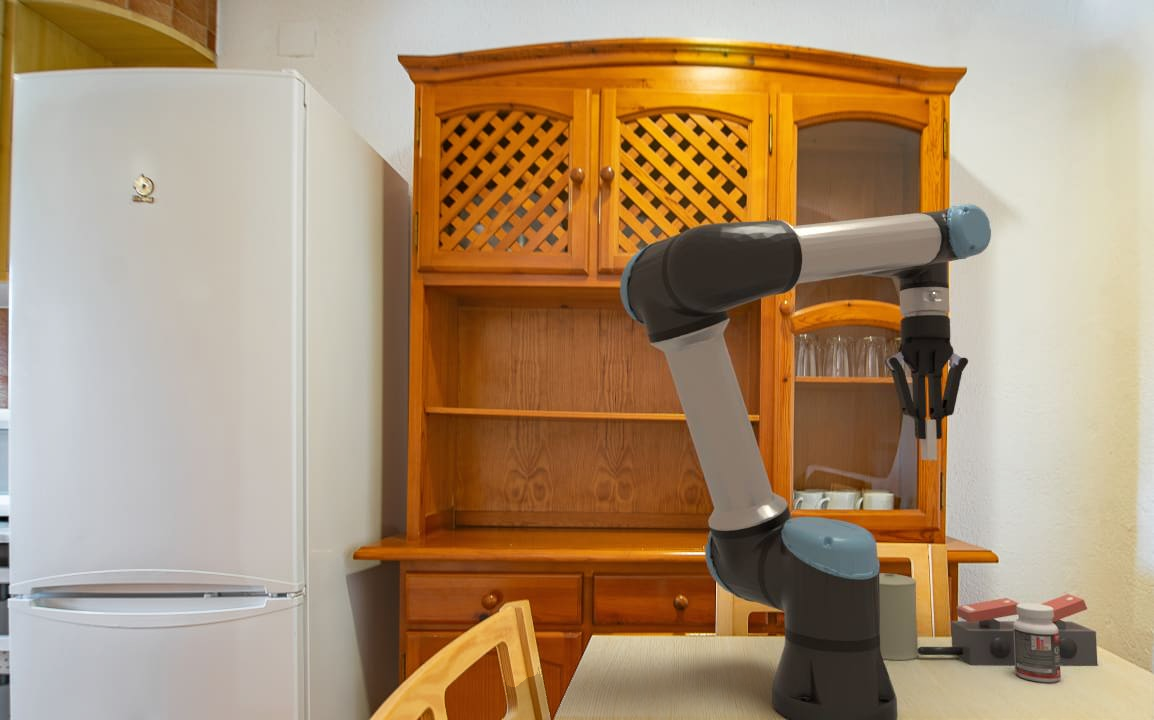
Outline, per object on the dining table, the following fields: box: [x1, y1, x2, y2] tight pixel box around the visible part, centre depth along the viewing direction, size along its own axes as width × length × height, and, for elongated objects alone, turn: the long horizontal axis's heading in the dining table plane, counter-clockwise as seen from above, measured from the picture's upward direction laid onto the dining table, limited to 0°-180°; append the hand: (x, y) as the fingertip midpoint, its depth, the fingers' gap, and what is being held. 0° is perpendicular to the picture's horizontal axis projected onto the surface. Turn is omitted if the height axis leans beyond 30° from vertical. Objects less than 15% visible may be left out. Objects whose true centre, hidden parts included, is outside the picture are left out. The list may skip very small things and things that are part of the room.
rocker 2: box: [1040, 593, 1088, 622], centre depth 123 cm, size 8×4×2 cm, turn 91°
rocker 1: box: [955, 597, 1020, 623], centre depth 123 cm, size 8×4×2 cm, turn 90°
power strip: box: [918, 618, 1098, 666], centre depth 122 cm, size 26×6×6 cm, turn 89°
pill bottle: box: [1013, 602, 1062, 684], centre depth 114 cm, size 6×6×10 cm
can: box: [879, 572, 920, 661], centre depth 127 cm, size 9×9×12 cm
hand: (929, 459), depth 129 cm, fingers closed
